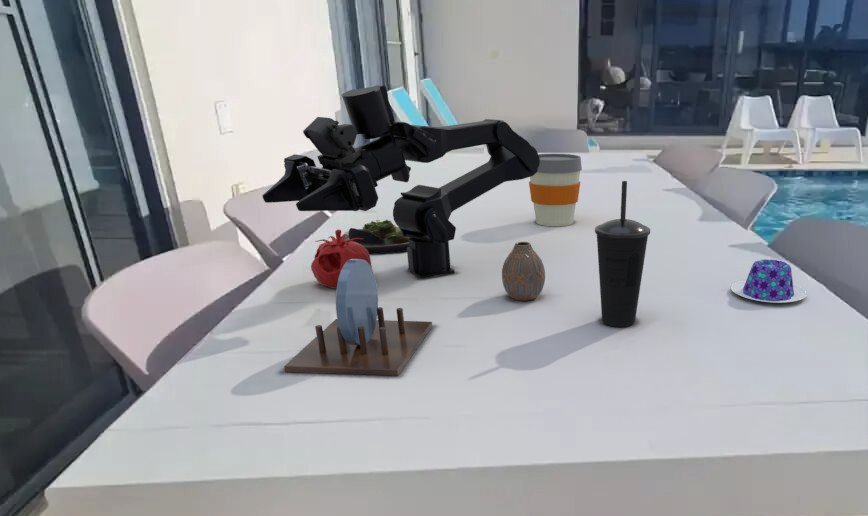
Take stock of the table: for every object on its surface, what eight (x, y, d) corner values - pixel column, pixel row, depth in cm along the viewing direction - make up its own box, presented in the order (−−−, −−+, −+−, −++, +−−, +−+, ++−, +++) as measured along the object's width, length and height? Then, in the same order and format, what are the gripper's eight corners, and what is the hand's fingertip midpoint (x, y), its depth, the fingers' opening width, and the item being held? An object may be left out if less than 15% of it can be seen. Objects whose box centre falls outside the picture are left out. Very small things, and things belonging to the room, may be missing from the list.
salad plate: (340, 233, 141) (337, 212, 139) (423, 229, 145) (421, 209, 143) (331, 256, 124) (327, 233, 122) (424, 251, 128) (422, 228, 126)
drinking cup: (649, 315, 96) (658, 178, 87) (638, 333, 89) (646, 187, 81) (600, 309, 98) (604, 175, 89) (585, 326, 91) (588, 184, 83)
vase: (552, 293, 105) (552, 240, 101) (533, 306, 99) (532, 251, 95) (515, 287, 107) (514, 236, 104) (494, 300, 101) (492, 245, 98)
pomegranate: (357, 271, 115) (350, 219, 112) (385, 283, 109) (379, 229, 105) (303, 282, 109) (294, 228, 105) (330, 296, 103) (321, 239, 99)
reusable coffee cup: (523, 226, 148) (521, 159, 142) (534, 215, 159) (533, 152, 153) (576, 229, 146) (577, 161, 140) (584, 217, 157) (585, 154, 151)
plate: (373, 326, 89) (363, 249, 84) (382, 326, 89) (372, 249, 84) (343, 359, 79) (329, 273, 74) (352, 359, 79) (339, 273, 74)
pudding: (716, 294, 104) (719, 263, 102) (752, 278, 112) (755, 249, 110) (785, 312, 97) (790, 279, 95) (818, 294, 105) (823, 263, 103)
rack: (336, 323, 92) (332, 295, 90) (432, 326, 91) (429, 298, 89) (284, 372, 77) (278, 339, 76) (398, 375, 77) (394, 343, 75)
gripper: (315, 108, 100) (223, 141, 91) (388, 114, 89) (292, 152, 80) (340, 177, 107) (256, 214, 97) (411, 190, 96) (324, 233, 87)
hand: (280, 203), depth 90 cm, fingers open, 9 cm apart
